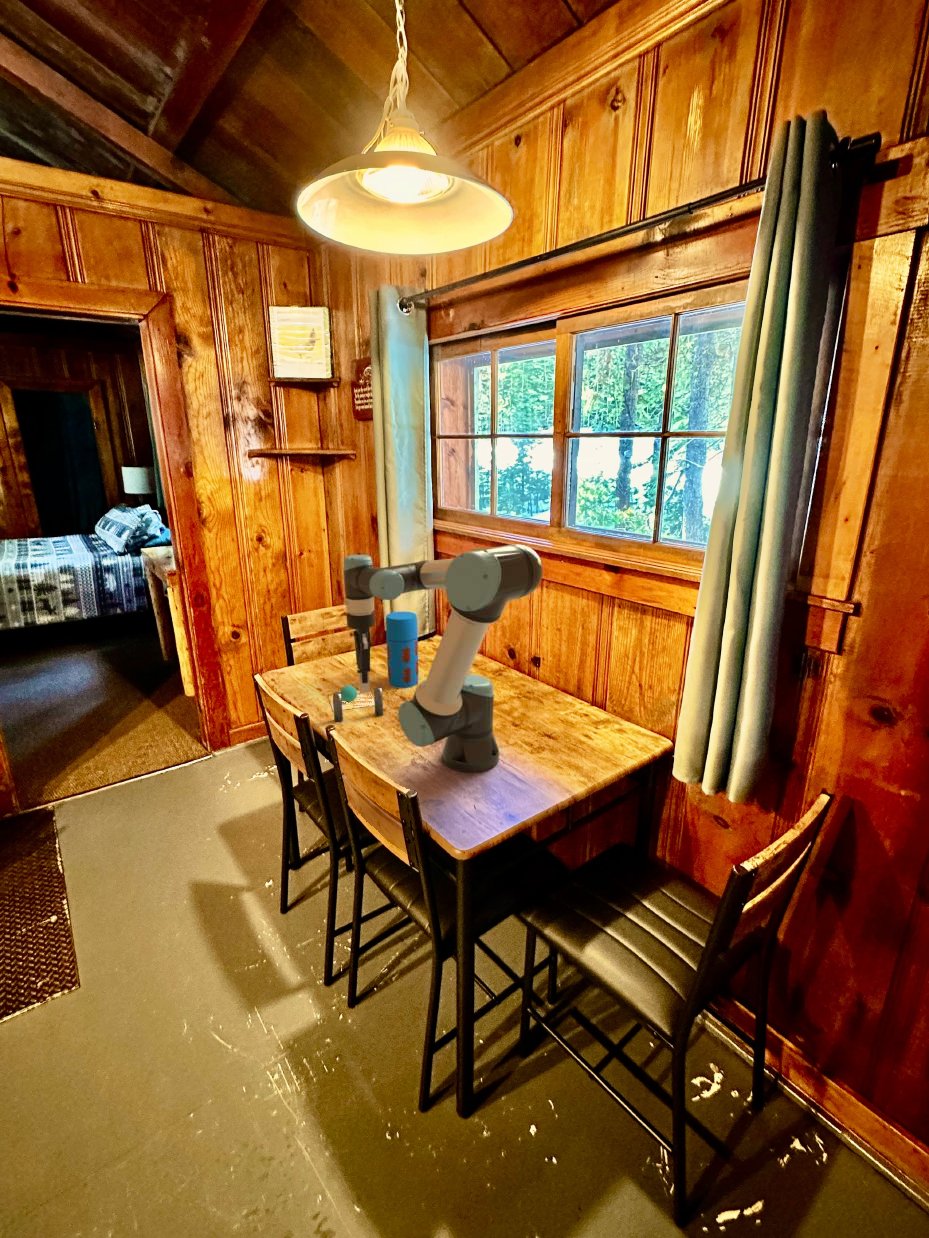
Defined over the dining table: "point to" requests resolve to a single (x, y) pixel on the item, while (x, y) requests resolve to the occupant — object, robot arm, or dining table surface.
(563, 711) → the dining table surface
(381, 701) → the post right
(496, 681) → the dining table surface
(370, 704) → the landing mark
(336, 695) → the post left
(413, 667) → the thermos
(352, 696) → the ball
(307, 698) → the dining table surface
